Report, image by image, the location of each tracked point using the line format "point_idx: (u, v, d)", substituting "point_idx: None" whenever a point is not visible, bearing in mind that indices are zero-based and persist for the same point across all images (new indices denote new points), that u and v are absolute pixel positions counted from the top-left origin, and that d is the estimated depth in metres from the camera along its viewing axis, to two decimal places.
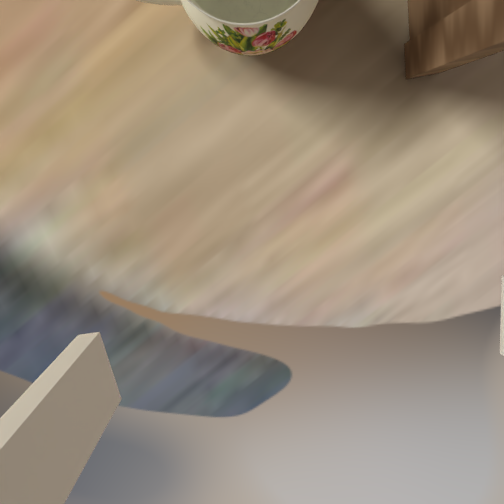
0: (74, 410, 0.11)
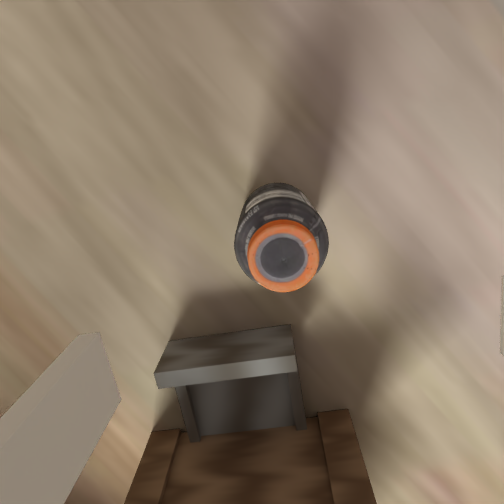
0: (74, 410, 0.11)
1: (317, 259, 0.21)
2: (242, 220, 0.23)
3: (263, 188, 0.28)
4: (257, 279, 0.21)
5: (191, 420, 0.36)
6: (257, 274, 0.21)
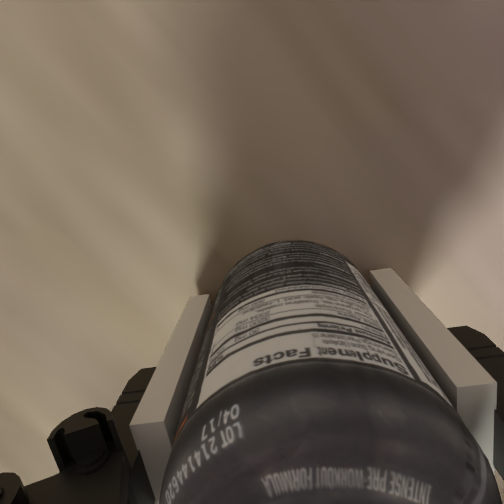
0: None
1: None
2: (181, 454, 0.06)
3: (263, 262, 0.12)
4: None
5: None
6: None
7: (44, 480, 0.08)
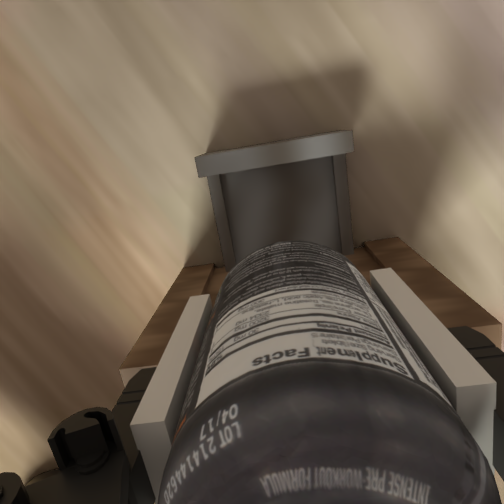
0: None
1: None
2: (180, 454, 0.06)
3: (263, 262, 0.12)
4: None
5: (228, 244, 0.33)
6: None
7: (44, 480, 0.08)
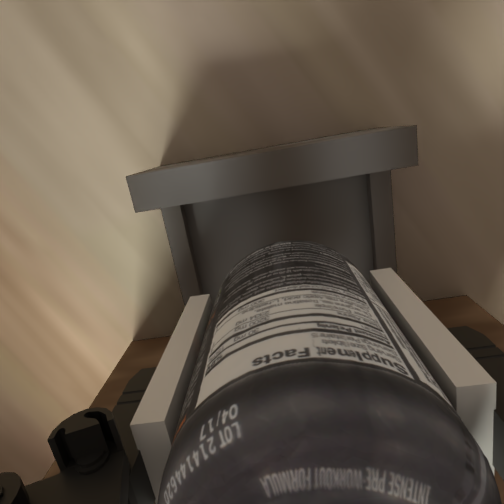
0: None
1: None
2: (180, 454, 0.06)
3: (263, 262, 0.12)
4: None
5: None
6: None
7: (44, 480, 0.08)
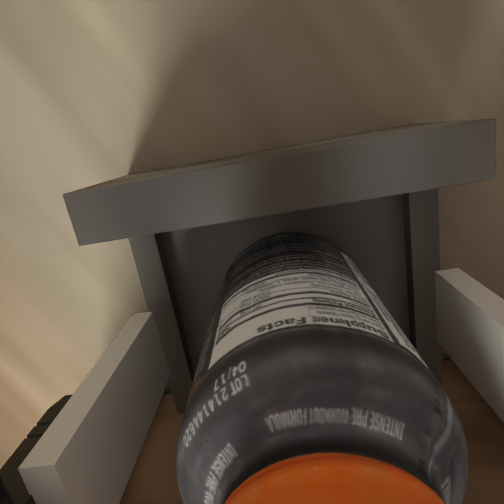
0: (138, 379, 0.11)
1: None
2: (197, 404, 0.07)
3: (264, 251, 0.13)
4: None
5: (179, 362, 0.16)
6: None
7: None
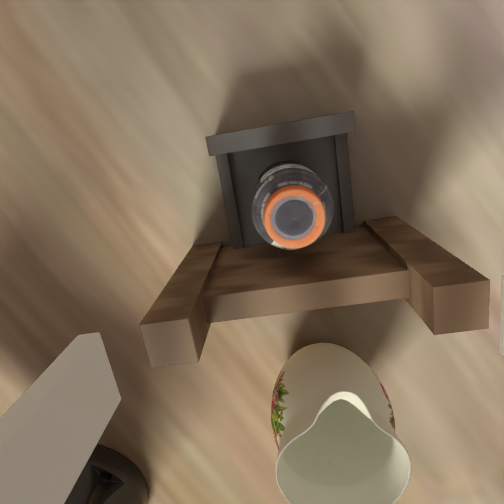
0: (74, 410, 0.11)
1: (324, 219, 0.24)
2: (258, 188, 0.26)
3: (275, 164, 0.32)
4: (272, 236, 0.24)
5: (235, 222, 0.35)
6: (272, 232, 0.24)
7: None
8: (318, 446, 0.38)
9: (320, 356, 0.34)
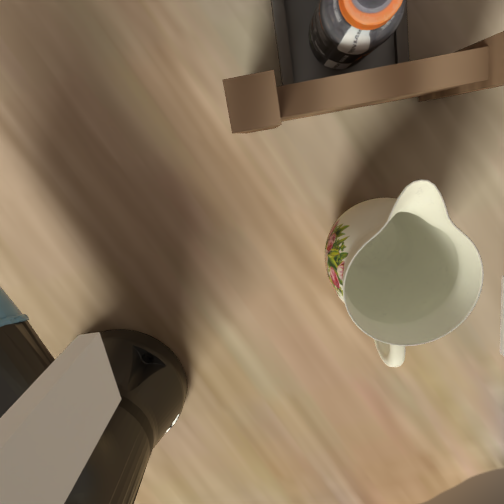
0: (74, 410, 0.11)
1: None
2: None
3: None
4: (350, 10, 0.24)
5: (288, 66, 0.35)
6: (350, 5, 0.24)
7: None
8: (370, 305, 0.37)
9: (376, 199, 0.34)
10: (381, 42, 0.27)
